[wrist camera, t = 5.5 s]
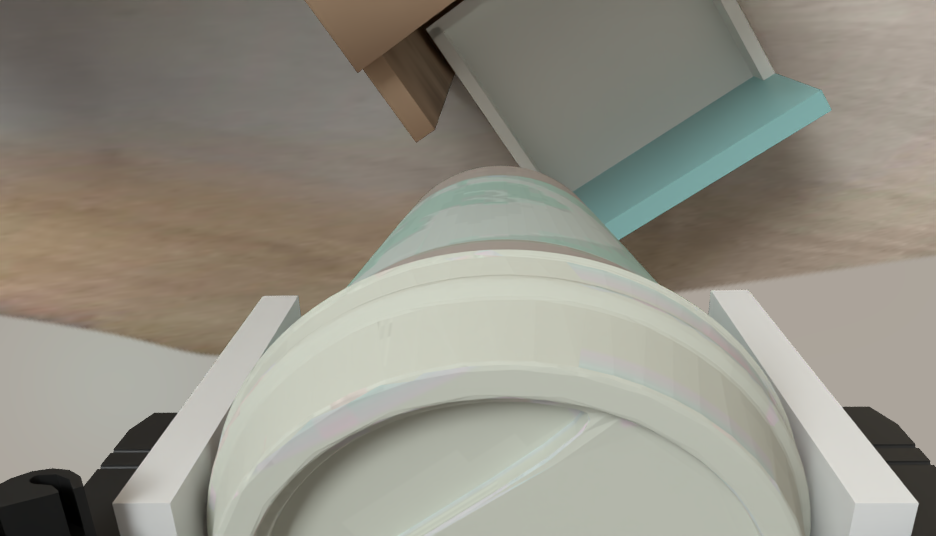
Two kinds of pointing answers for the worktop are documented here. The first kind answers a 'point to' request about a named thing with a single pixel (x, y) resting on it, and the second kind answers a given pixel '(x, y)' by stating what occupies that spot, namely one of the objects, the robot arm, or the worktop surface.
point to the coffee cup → (506, 392)
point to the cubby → (394, 53)
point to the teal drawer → (624, 94)
